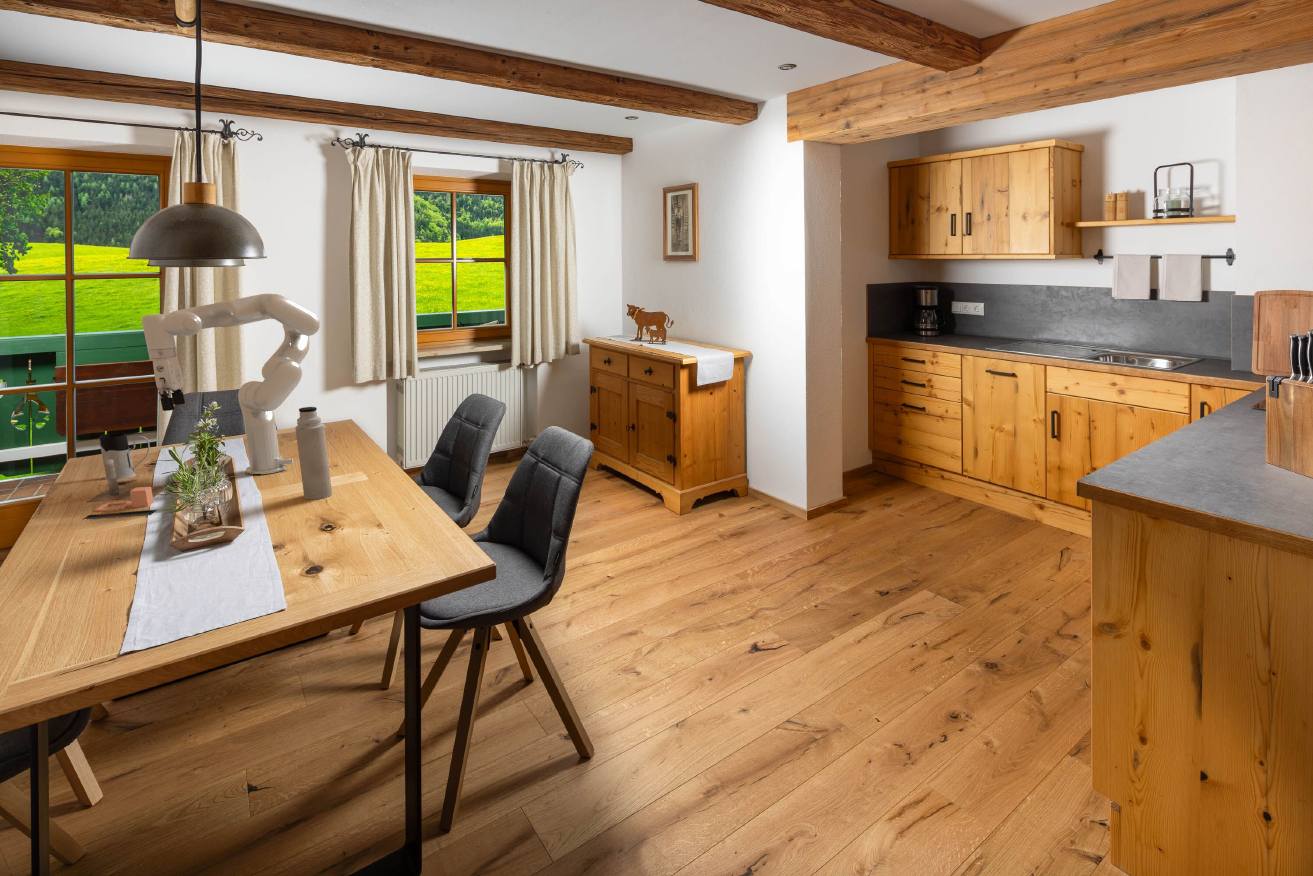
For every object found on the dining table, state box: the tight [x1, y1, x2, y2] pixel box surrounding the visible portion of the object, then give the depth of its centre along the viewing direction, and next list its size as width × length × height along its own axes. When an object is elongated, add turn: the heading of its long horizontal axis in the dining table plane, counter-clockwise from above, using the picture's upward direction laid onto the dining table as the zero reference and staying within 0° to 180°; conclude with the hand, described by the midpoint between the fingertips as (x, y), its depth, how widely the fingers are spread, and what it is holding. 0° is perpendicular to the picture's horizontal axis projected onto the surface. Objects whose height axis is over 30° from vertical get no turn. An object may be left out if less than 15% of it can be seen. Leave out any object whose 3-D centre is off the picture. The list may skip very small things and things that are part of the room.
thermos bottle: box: [294, 406, 333, 500], centre depth 227 cm, size 8×8×28 cm
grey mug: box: [99, 432, 151, 481], centre depth 252 cm, size 9×14×15 cm, turn 114°
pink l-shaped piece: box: [94, 486, 155, 515], centre depth 217 cm, size 13×7×6 cm, turn 103°
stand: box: [86, 459, 166, 503], centre depth 228 cm, size 18×13×12 cm
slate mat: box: [82, 509, 157, 521], centre depth 217 cm, size 17×12×1 cm
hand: (174, 407), depth 235 cm, fingers open, 9 cm apart
